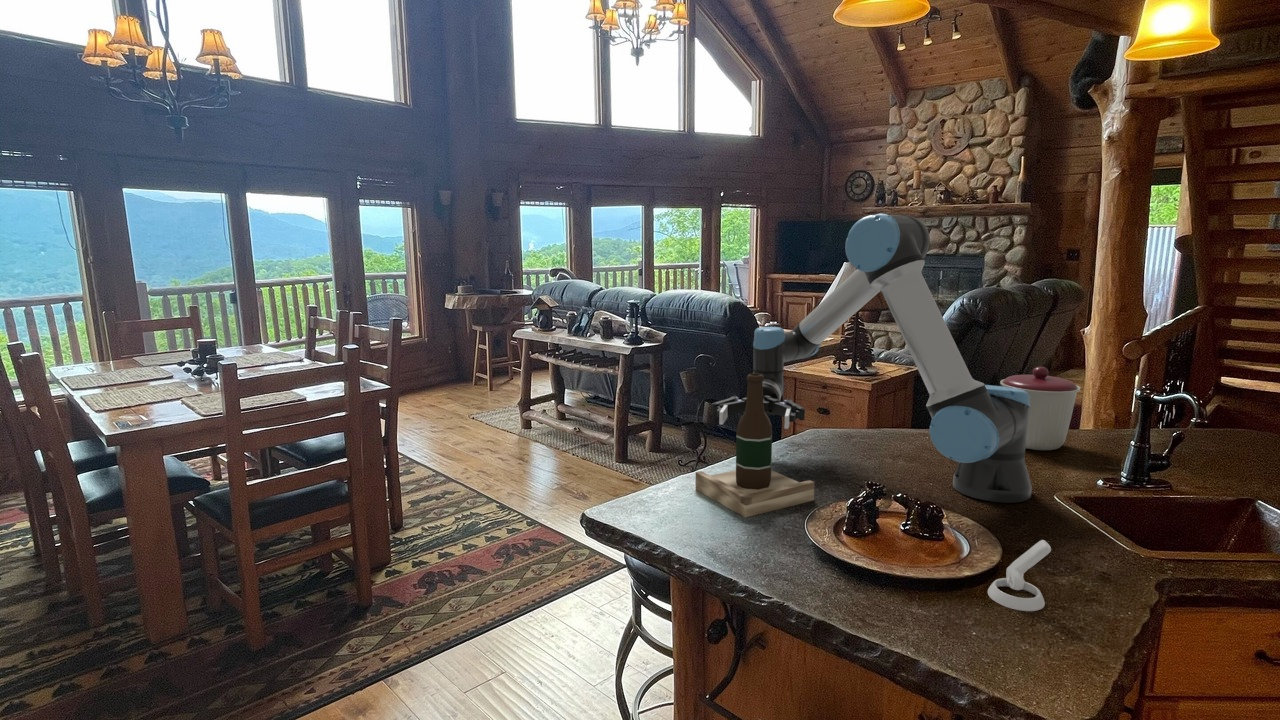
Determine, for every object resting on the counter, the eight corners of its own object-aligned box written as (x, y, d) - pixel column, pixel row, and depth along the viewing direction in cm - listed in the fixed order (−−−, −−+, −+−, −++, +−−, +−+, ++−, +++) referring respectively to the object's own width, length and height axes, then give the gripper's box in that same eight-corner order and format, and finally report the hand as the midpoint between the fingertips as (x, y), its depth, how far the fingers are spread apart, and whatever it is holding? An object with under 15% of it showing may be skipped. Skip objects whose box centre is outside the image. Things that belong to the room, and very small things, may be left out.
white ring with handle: (1092, 588, 96) (1052, 561, 95) (1028, 635, 101) (989, 609, 101) (1074, 554, 102) (1036, 529, 102) (1014, 600, 108) (978, 576, 107)
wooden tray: (813, 500, 143) (814, 482, 142) (745, 517, 134) (745, 498, 133) (759, 475, 158) (760, 458, 157) (695, 489, 150) (695, 472, 149)
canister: (981, 442, 181) (987, 365, 178) (1017, 432, 191) (1024, 358, 187) (1052, 460, 166) (1060, 376, 163) (1087, 447, 176) (1096, 368, 173)
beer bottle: (731, 478, 149) (732, 371, 145) (765, 476, 150) (768, 370, 146) (740, 491, 142) (741, 378, 137) (776, 489, 142) (779, 377, 138)
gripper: (817, 416, 159) (814, 441, 139) (712, 410, 166) (694, 433, 146) (818, 385, 158) (815, 406, 137) (712, 380, 164) (694, 399, 144)
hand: (753, 420), depth 141 cm, fingers open, 13 cm apart
